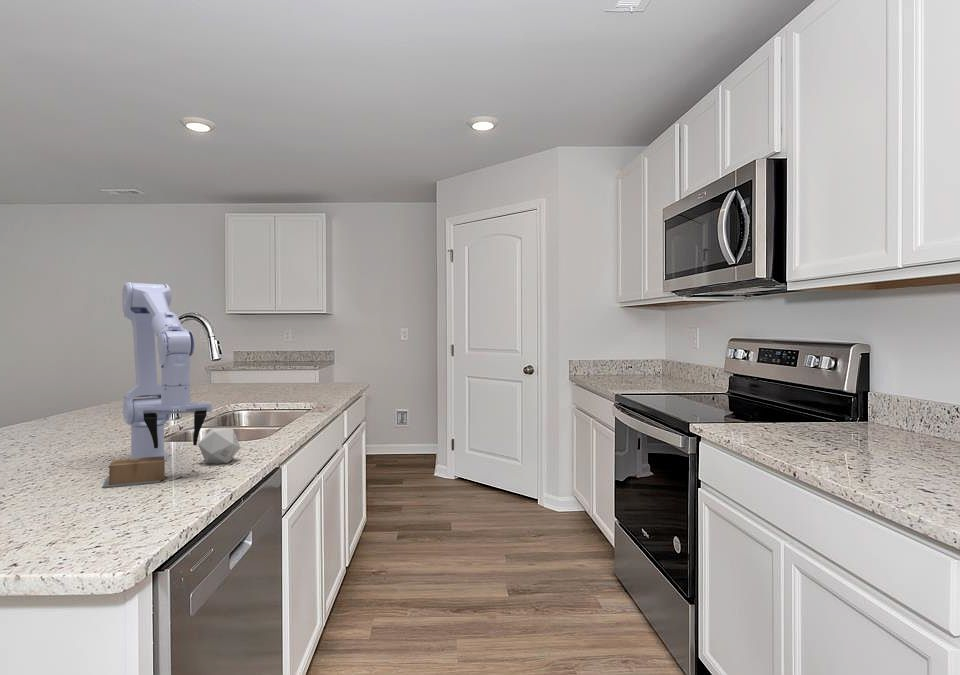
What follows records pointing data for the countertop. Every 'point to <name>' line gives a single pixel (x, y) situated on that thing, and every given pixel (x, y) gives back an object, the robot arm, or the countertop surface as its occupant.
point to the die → (219, 445)
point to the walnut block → (136, 470)
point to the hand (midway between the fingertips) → (175, 446)
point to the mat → (106, 483)
